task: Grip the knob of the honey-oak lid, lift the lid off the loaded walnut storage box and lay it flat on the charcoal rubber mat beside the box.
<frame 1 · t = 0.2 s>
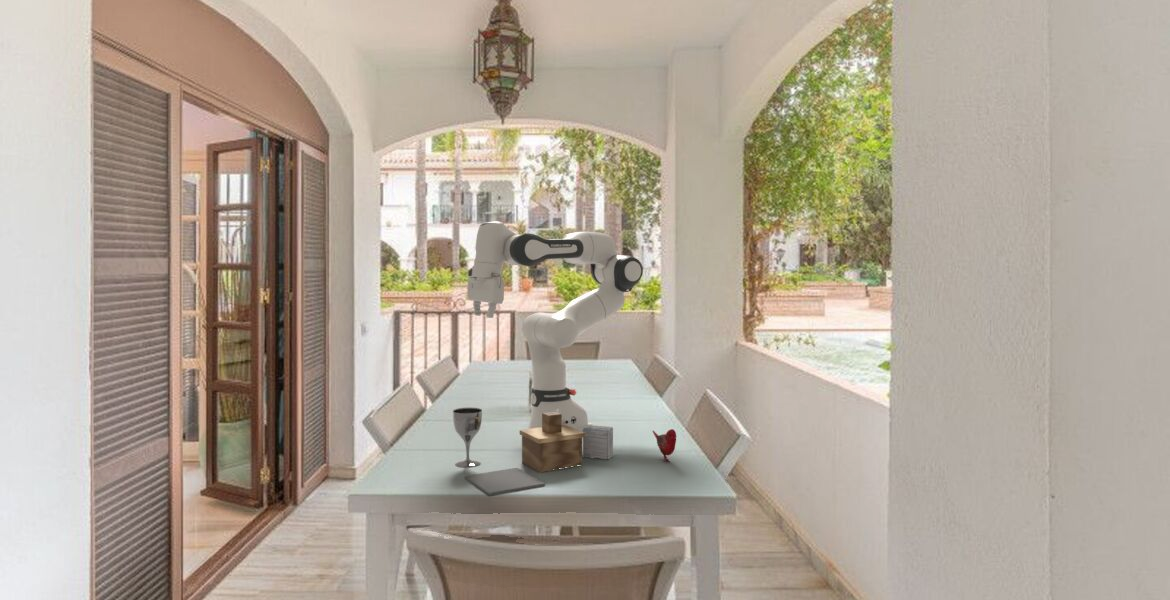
hand: (483, 316, 225), 39 cm above the table, tool pointing down, fingers open, 8 cm apart
wine glass: (467, 464, 200), on the table
mat: (504, 481, 183), on the table
storage box: (551, 464, 199), on the table
medicine box: (598, 457, 207), on the table
lid: (551, 435, 199), point 8 cm above the table, touching storage box
decorative bird figurine: (663, 459, 205), on the table
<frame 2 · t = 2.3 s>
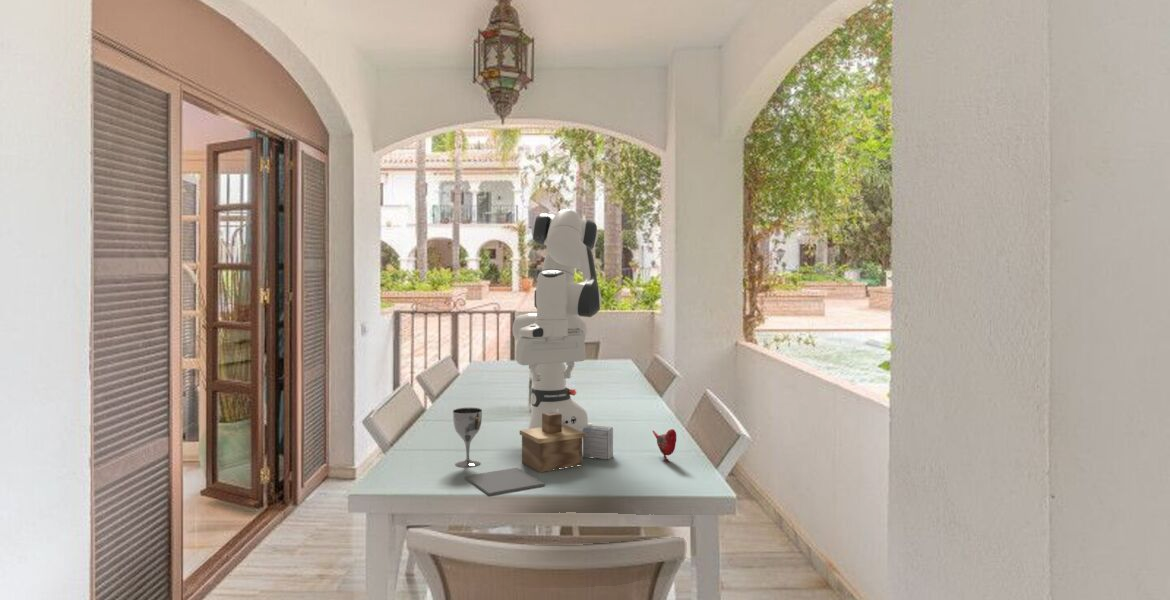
hand: (551, 379, 198), 24 cm above the table, tool pointing down, fingers open, 8 cm apart
nothing on the table moved.
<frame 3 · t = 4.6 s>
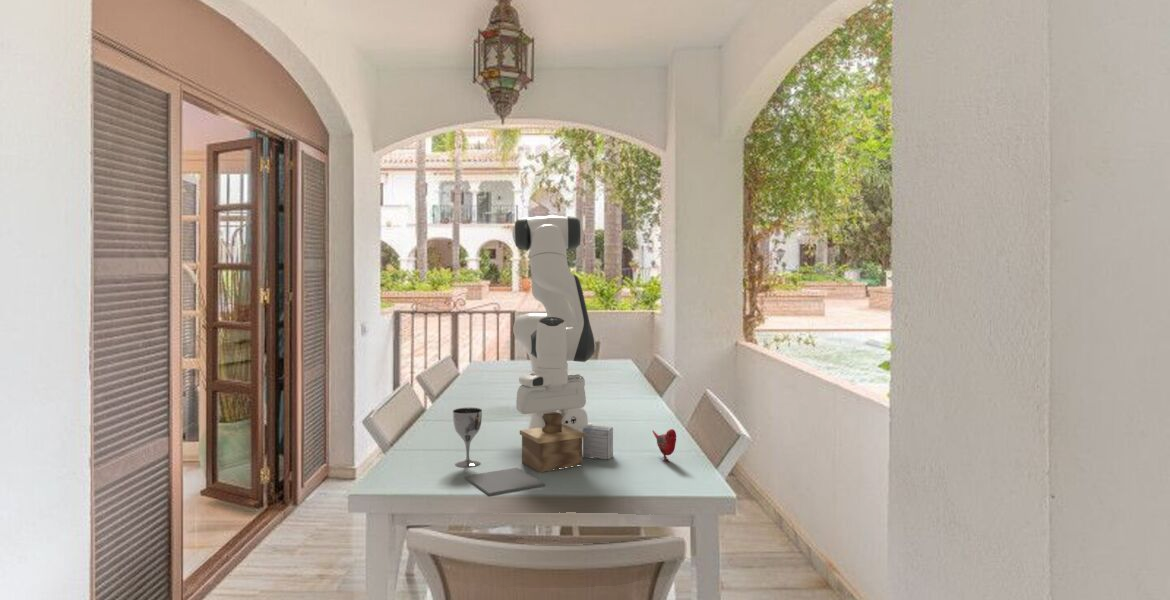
hand: (551, 426, 199), 11 cm above the table, tool pointing down, fingers closed on lid, 4 cm apart
lid: (551, 435, 199), point 8 cm above the table, touching gripper, storage box
everything else where it was.
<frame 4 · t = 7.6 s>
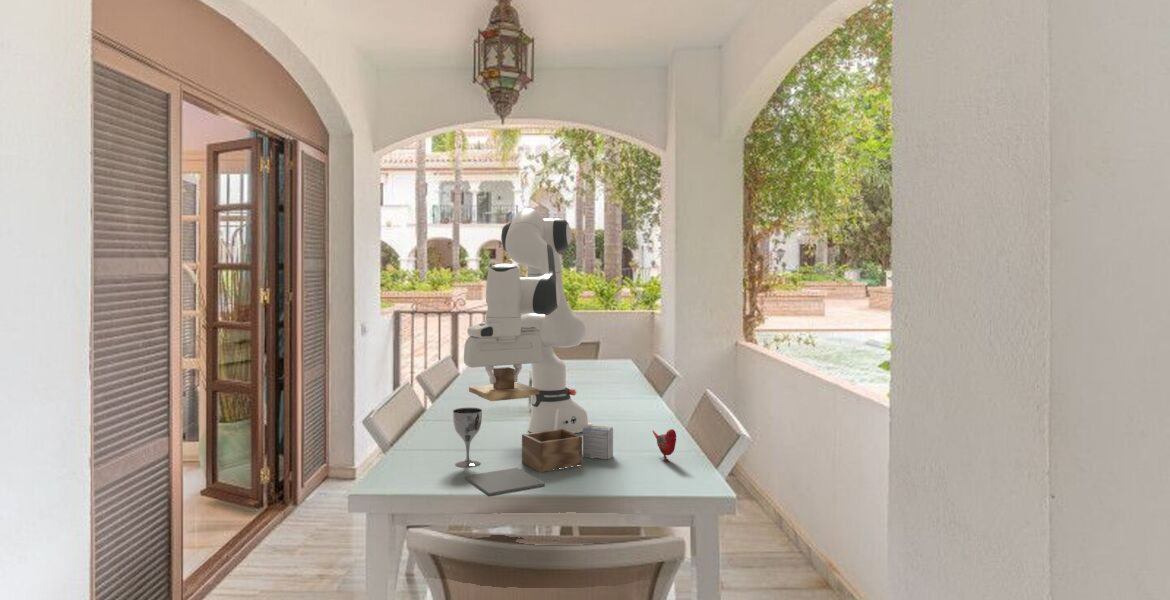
hand: (503, 382, 182), 25 cm above the table, tool pointing down, fingers closed on lid, 4 cm apart
lid: (503, 392, 182), point 23 cm above the table, touching gripper
everything else where it was.
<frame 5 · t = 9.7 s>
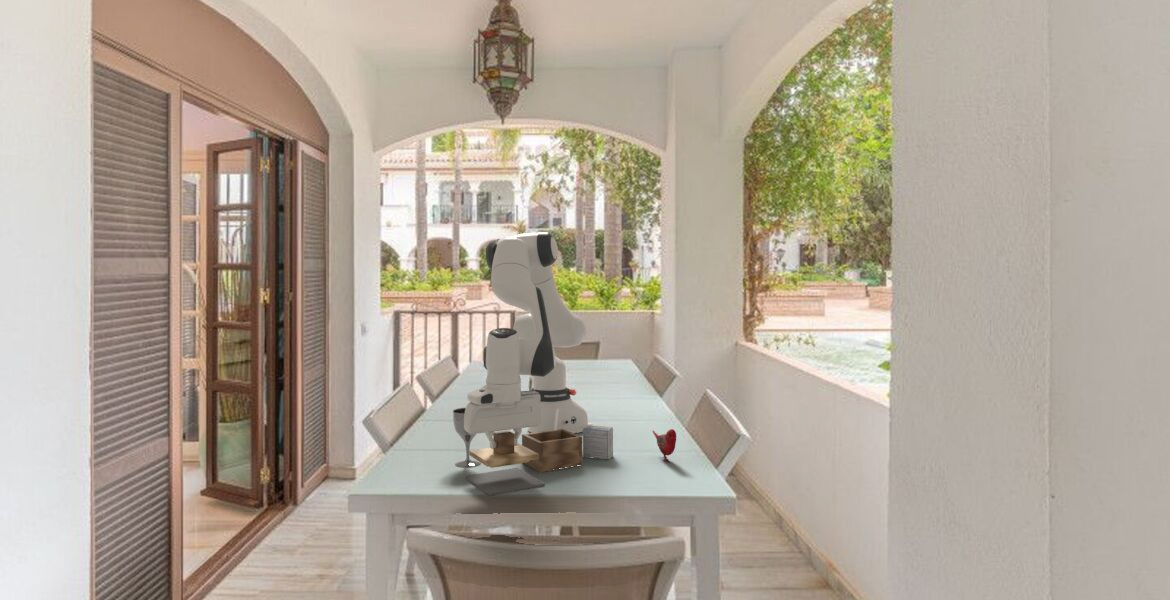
hand: (503, 447, 183), 9 cm above the table, tool pointing down, fingers closed on lid, 4 cm apart
lid: (503, 457, 183), point 6 cm above the table, touching gripper
everything else where it was.
when the fingers open (6 cm above the table, at t = 11.1 s): lid drops 1 cm, resting on mat.
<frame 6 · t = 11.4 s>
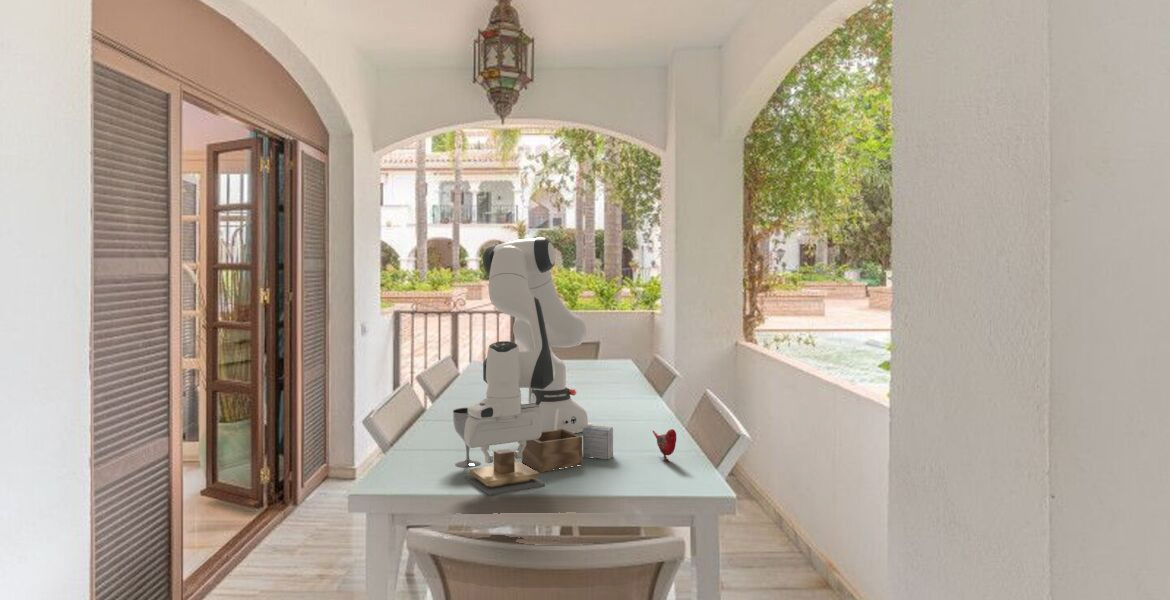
hand: (503, 460, 183), 6 cm above the table, tool pointing down, fingers open, 7 cm apart
lid: (504, 475, 183), point 2 cm above the table, touching mat
everything else where it was.
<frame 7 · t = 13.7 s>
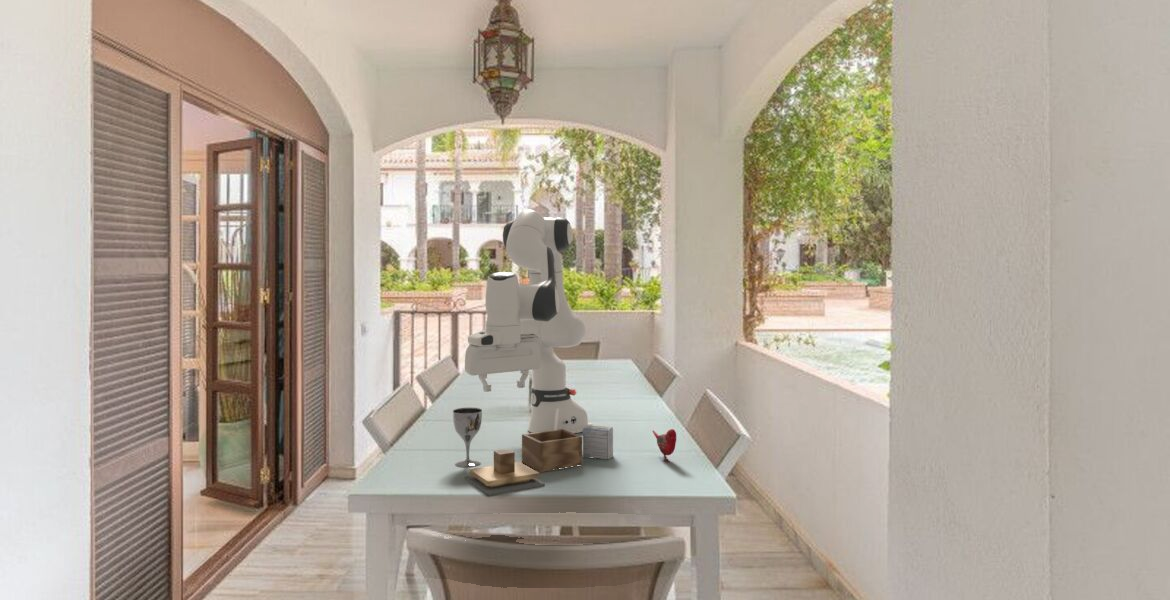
hand: (504, 389, 185), 23 cm above the table, tool pointing down, fingers open, 8 cm apart
nothing on the table moved.
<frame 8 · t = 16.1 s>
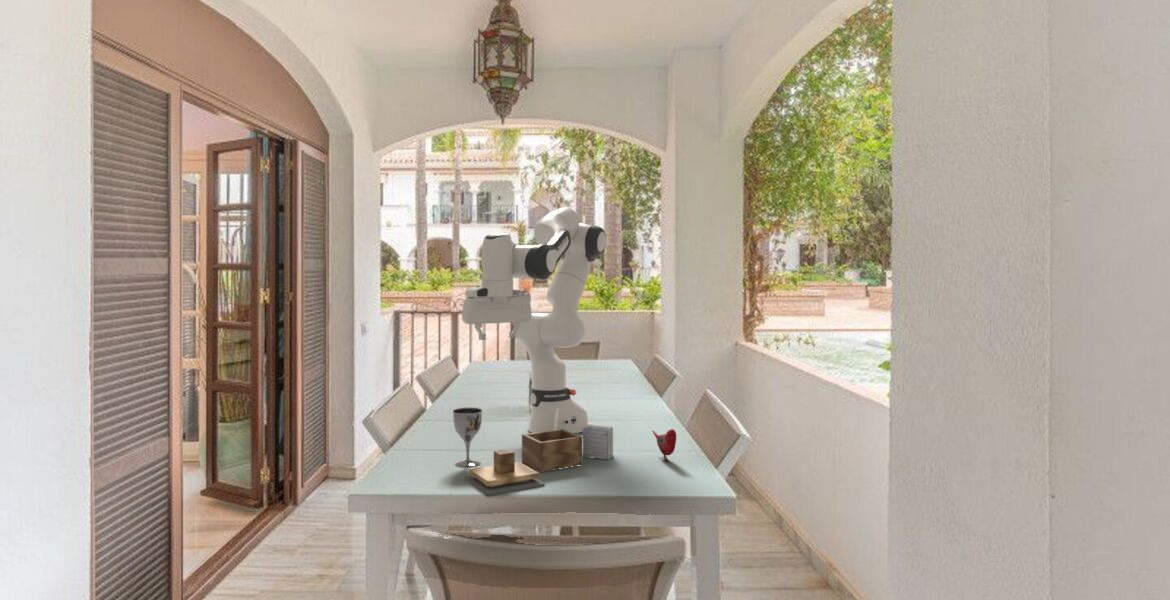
hand: (497, 338, 204), 34 cm above the table, tool pointing down, fingers open, 8 cm apart
nothing on the table moved.
at the end: lid inside the target area on the mat (0.1 cm from its centre), point 1.6 cm above the mat's base; lid tilted 0°; the gripper is holding nothing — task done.
